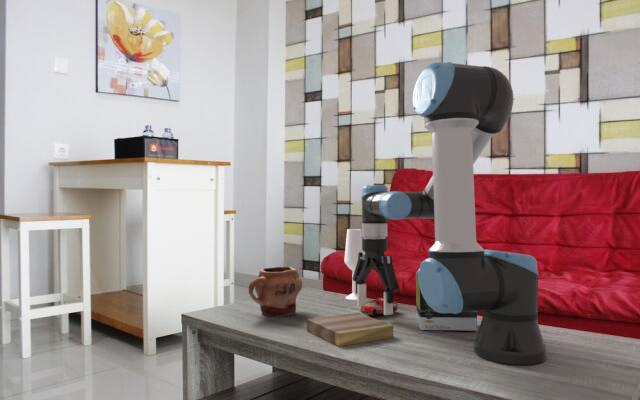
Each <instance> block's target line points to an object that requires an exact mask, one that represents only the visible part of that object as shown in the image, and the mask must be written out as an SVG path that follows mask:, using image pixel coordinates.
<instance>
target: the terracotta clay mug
mask: <svg viewBox="0 0 640 400" xmlns="http://www.w3.org/2000/svg"><path fill="white" fill-rule="evenodd" d="M302 288H303V281H302V279H301V277H300V274H299V272H298V270H297V269H296V268H294V267H292V266H289V267H288V266H278V267H277V266H276V267H267V268H266V267H265V268H262V269H260V271H259V273H258V277H256V278H253V279H252V280H251V281H250V282H249V286H248V294H249V295H250V298H251V300H253V302H255V303H256V304H258V305H259V306H260V307H259V308H260V311H261V314H262V315H264V316H267V317H273V318H275V317H276V318H278V317H286V316H291V315H294V314H296V311H297V302H296V301H297V296H298V295H299V293H301V290H302ZM254 291H255V293H256V295H257V297H256V295H255V294H254Z"/></svg>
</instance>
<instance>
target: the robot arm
mask: <svg viewBox="0 0 640 400" xmlns="http://www.w3.org/2000/svg"><path fill="white" fill-rule="evenodd" d="M513 91H514V90H513V87H512V84H511V83H510V80H509V78H508V77H507V76H506V75H505V74H504V73H503V72H502V71H500V70H499V69H497V68H494V67H492V66H486V65H485V66H479V65H470V64H462V63H453V62H433V63H432V62H431V63H430V64H428V65H427V66H426V67H425V68H423V70H422V71H421V72H420V74H419V76H418V78H417V80H416V82H415V86H414V88H413V93H412V106H413V107H412V108H413V110H414V112H415V113H416V114H417V115H418V116H419V117H423V120H424V121H423V123H424V128H425V129H426V130H427V131H428V132H429V133H430V134H431V151H432V153H431V155H432V176H431V178H430V179H429V181H428V183H427V185H426V186H425V188H424V189H423V191H398V190H397V191H396V190H395V191H388V187H387V186H386V185H384V184H382V185H380V184H379V185H377V184H376V185H375V184H373V185H371V184H370V185H366V184H365V185H364V186H363V187H362V190H361V191H362V192H361V193H362V194H361V236H362V250H363V252H359V254H358V261H357V265H356V268H355V272H354V275H353V281H356V292H357V293H356V294H357V300H356V302H357V304H356V305H357V307H361V306H363V305H365V304H367V282H366V280H367V278H368V277H369V275H370V273H371V271H372V270H373V271H375V273H377V274H378V276H379V279H380V280H381V283H382V285H383V287H384V291H383V299H384V313H383V316H391V315H393V314H394V313H393V302H395V300H394V299H395V298H394V295H395V292H396V291H399V290H400V286H399V283H398V282H399V281H398V279H397V275H396V272H395V268H394V265H393V257H392V255H387V256H385V255H386V254H385V252H387V251H388V247H389V246H388V242H389V240H388V239H387V237H388V223H389V222H388V221H389V220H392V221H394V220H396V221H397V220H398V221H400V220H408V219H410V220H411V219H413V220H414V219H432V220H433V219H434V241H435V242H434V243H433V244H432V245H431V246H430V248H429V249H428V258H426V259H424V260H423V261H422V262H421V263H420V265H419V268H418V271H419V272H418V280H419V286H420V290H421V293H422V295H423V298H424V299H425V300H426V302H427V304H428V305H429V306H430V307H431V308H432V309H433V310H434V311H436V312H439V313H453V314H458V313H460V312H472V311H477V312H481V311H482V317H481V321H480V325H479V327H478V329H477V334H476V337H475V339H474V343H473V344H474V349H473V351H474V353H475V354H476V355H477V356H478V357H480V358H482V359H484V360H488V361H491V362H495V363H501V364H508V365H518V366H519V365H522V366H523V365H535V364H536V365H537V364H540V363H543V362H545V361H546V360H547V347H546V345H545V342H544V339H543V335H542V332H541V328H540V326H539V322H538V321H539V319H538V311H539V310H538V305H539V304H538V302H539V301H538V300H539V297H538V296H539V272H538V262H537V259H536V258H535V257H534V256H532V255H530V254H524V253H516V252H510V251H503V250H502V251H501V250H494V249H493V250H492V249H484V248H483V247H482V246H481V245H480V244H479V243H478V241H477V229H476V228H477V227H476V226H477V225H476V202H475V178H474V175H475V174H474V164H475V163H476V161H477V160H478V158H479V157H480V155H481V154H482V152H483V151H484V149H485V148H486V146H487V145H488V143H489V142H490V140H491V139H492V137H493V136H494V135H498V134H500V132H501V131H502V130H503V129H504V127H505V126H506V124H507V122H508V121H509V118H510V117H511V113H512V111H513V106H514V92H513ZM388 219H389V220H388Z"/></svg>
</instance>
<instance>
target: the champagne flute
mask: <svg viewBox="0 0 640 400" xmlns="http://www.w3.org/2000/svg"><path fill="white" fill-rule="evenodd" d="M345 238H346V239H345V250H344V258H343V259H344V260H343V261H344V264H345V265H346V266H347V268H349V270H350V271H352V275H351V276H352V277H351V280H352V281H351V282H352V283H351V284H352V286H351V289H352V290H351V292H352V293H350V294H348V295H347V296H345V299H346V300H356V301H357V293H356V292H357V284H356V281H353V275H354V272H355V268H356V265H357V261H358V254H359V252H364V251H363V250H362V239H363V236H362V228H361V229H360V228H347V230H346V237H345Z"/></svg>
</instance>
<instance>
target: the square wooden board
mask: <svg viewBox="0 0 640 400" xmlns="http://www.w3.org/2000/svg"><path fill="white" fill-rule="evenodd" d="M306 331H307V332H308V333H311V334H313V335H314V336H316V337H319V338H321V339H323V340H326V341H327V342H328V343H331V344H333V345H335V346H337V347H341V346H348V345H354V344H361V343H368V342H373V341H379V340H386V339H390V338H391V339H392V338H394V324H391V323H388V322H385V321H382V320H380V319H376V318H374V317H371V316H370V315H369V316H368V315H365V314H364V313H361V312H360V313H359V312H355V313H347V314H339V315H331V316H324V317H316V318H315V317H314V318H308V319H306Z"/></svg>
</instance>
